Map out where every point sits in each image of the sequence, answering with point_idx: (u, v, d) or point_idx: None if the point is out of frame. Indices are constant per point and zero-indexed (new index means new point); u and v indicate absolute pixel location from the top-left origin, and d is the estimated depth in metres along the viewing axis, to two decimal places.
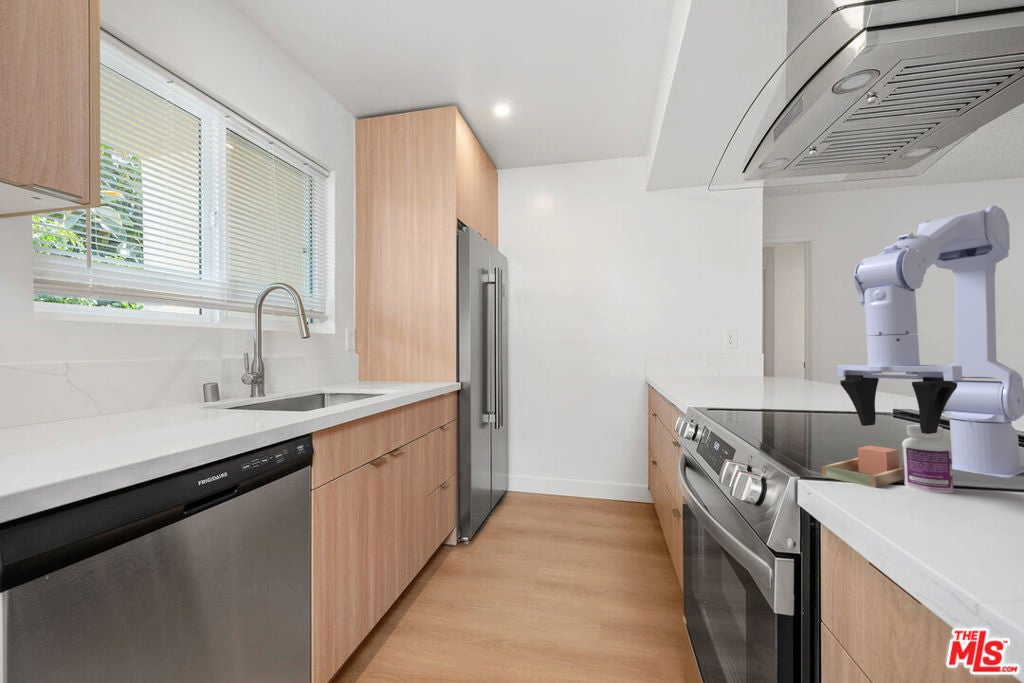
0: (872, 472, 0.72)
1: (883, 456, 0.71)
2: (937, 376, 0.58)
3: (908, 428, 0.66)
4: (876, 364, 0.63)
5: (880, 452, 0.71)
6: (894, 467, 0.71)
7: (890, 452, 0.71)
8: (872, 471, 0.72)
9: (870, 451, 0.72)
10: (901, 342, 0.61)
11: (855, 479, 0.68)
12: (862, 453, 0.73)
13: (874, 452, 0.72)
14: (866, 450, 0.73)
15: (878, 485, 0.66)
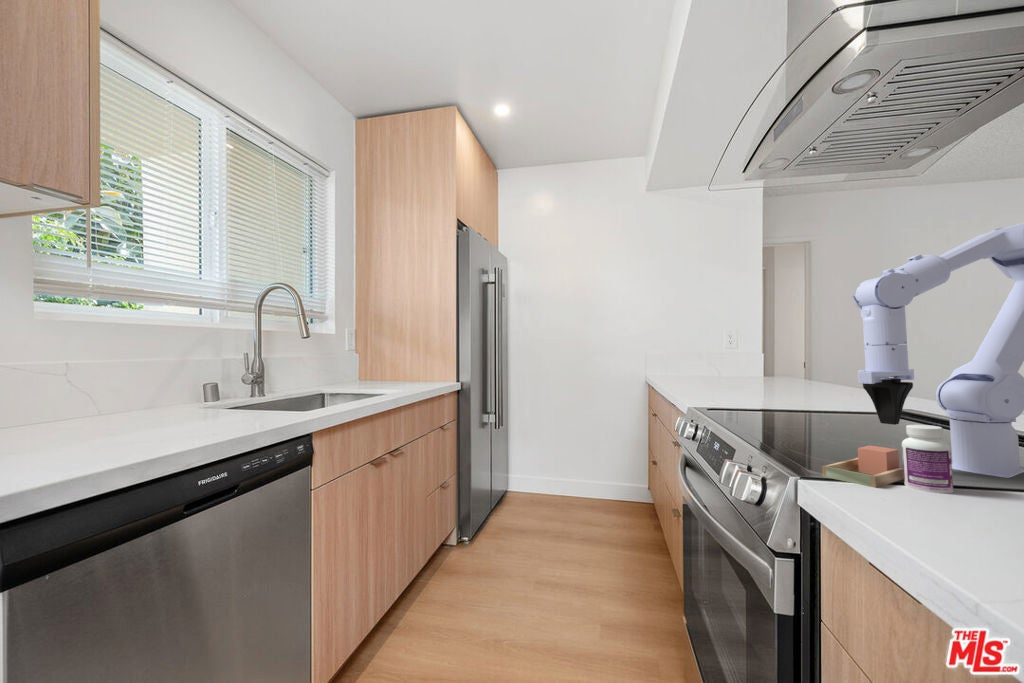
0: (872, 472, 0.72)
1: (883, 456, 0.71)
2: None
3: (908, 428, 0.66)
4: None
5: (880, 452, 0.71)
6: (894, 467, 0.71)
7: (890, 452, 0.71)
8: (872, 471, 0.72)
9: (870, 451, 0.72)
10: (866, 351, 0.76)
11: (855, 479, 0.68)
12: (862, 453, 0.73)
13: (874, 452, 0.72)
14: (866, 450, 0.73)
15: (878, 485, 0.66)
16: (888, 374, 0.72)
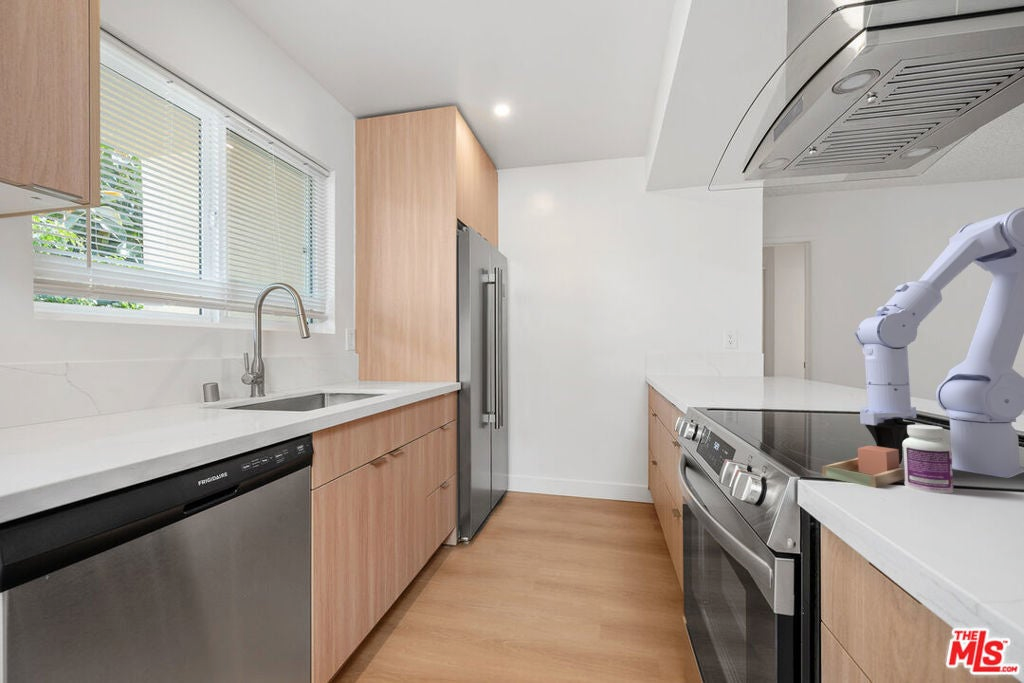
0: (872, 472, 0.72)
1: (883, 456, 0.71)
2: None
3: (908, 428, 0.66)
4: None
5: (880, 452, 0.71)
6: (894, 467, 0.71)
7: (890, 452, 0.71)
8: (872, 471, 0.72)
9: (870, 451, 0.72)
10: (868, 390, 0.76)
11: (855, 479, 0.68)
12: (862, 453, 0.73)
13: (874, 452, 0.72)
14: (866, 450, 0.73)
15: (878, 485, 0.66)
16: (890, 415, 0.72)
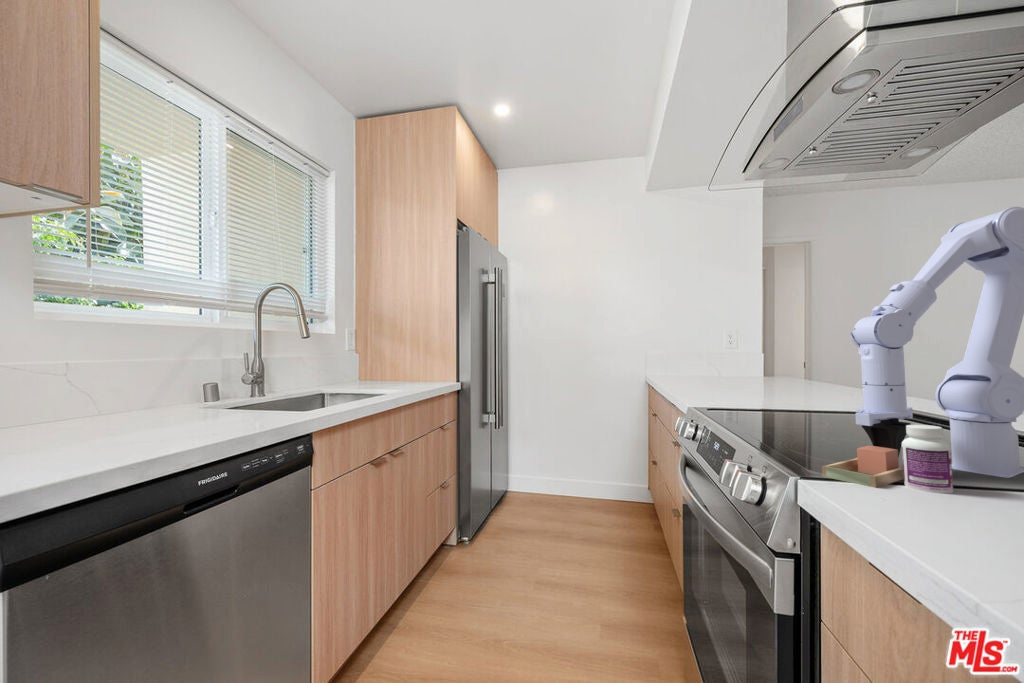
0: (871, 472, 0.72)
1: (882, 456, 0.71)
2: None
3: (907, 428, 0.66)
4: None
5: (879, 452, 0.71)
6: (893, 467, 0.71)
7: (889, 452, 0.71)
8: (871, 471, 0.72)
9: (869, 451, 0.72)
10: (864, 391, 0.75)
11: (855, 479, 0.68)
12: (861, 453, 0.73)
13: (873, 452, 0.72)
14: (865, 450, 0.73)
15: (878, 485, 0.66)
16: (886, 416, 0.71)
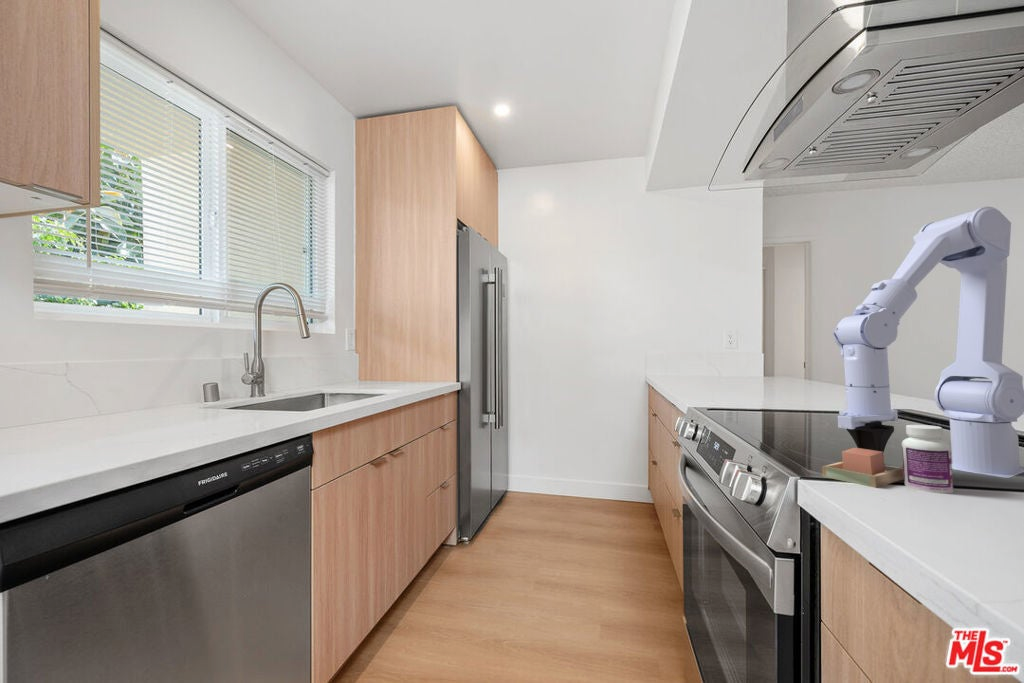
0: None
1: (867, 460, 0.69)
2: None
3: (907, 428, 0.66)
4: None
5: (864, 456, 0.69)
6: (879, 470, 0.69)
7: (874, 455, 0.69)
8: None
9: (854, 455, 0.70)
10: (847, 392, 0.73)
11: (855, 479, 0.68)
12: (846, 457, 0.71)
13: (858, 456, 0.70)
14: (850, 454, 0.71)
15: (878, 485, 0.66)
16: (869, 418, 0.69)
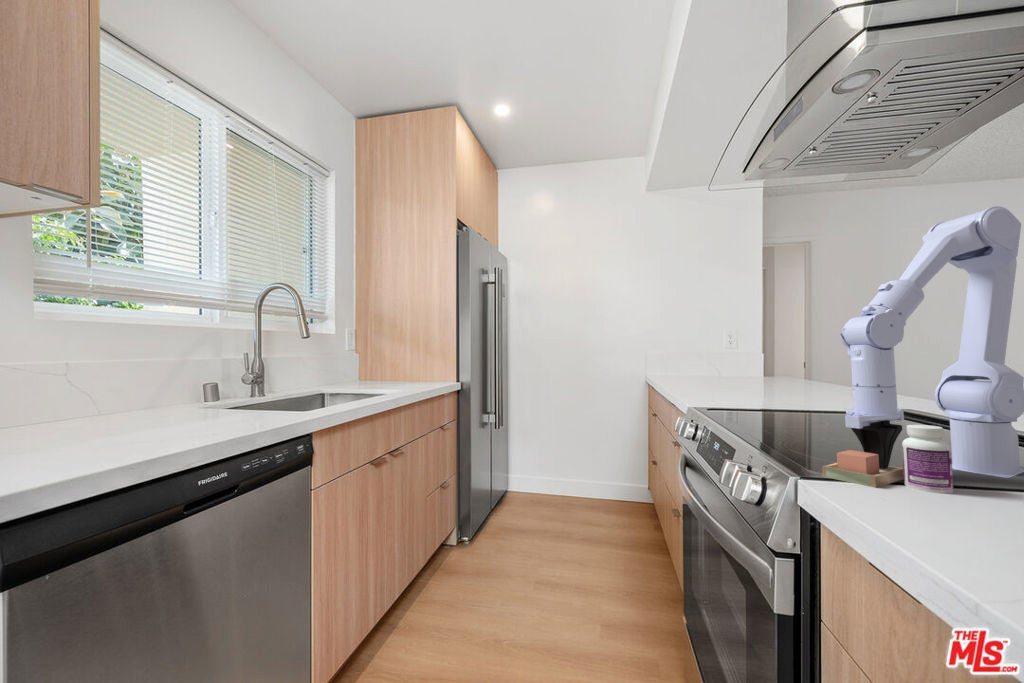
0: None
1: (863, 461, 0.68)
2: None
3: (908, 428, 0.66)
4: None
5: (859, 457, 0.68)
6: (874, 473, 0.68)
7: (870, 457, 0.68)
8: None
9: (849, 456, 0.69)
10: (854, 392, 0.74)
11: (855, 479, 0.68)
12: (841, 458, 0.70)
13: (853, 457, 0.69)
14: (845, 455, 0.70)
15: (878, 485, 0.66)
16: (876, 418, 0.70)
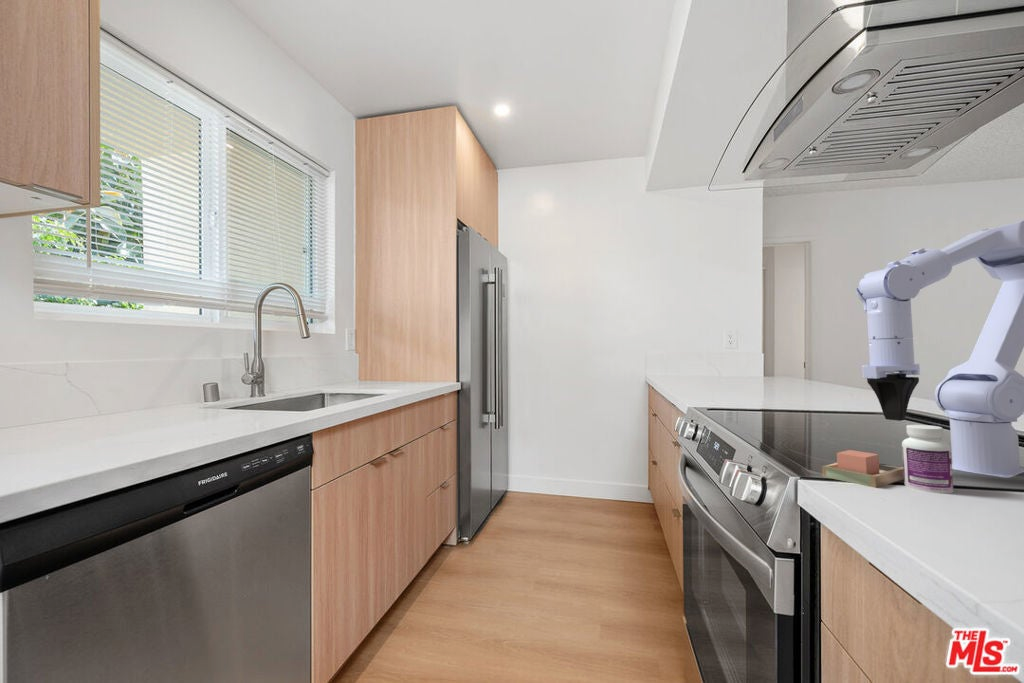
0: None
1: (863, 461, 0.68)
2: None
3: (908, 428, 0.66)
4: None
5: (859, 457, 0.68)
6: (874, 473, 0.68)
7: (870, 457, 0.68)
8: None
9: (849, 456, 0.69)
10: (871, 346, 0.74)
11: (855, 479, 0.68)
12: (841, 458, 0.70)
13: (853, 457, 0.69)
14: (845, 455, 0.70)
15: (878, 485, 0.66)
16: (893, 368, 0.70)
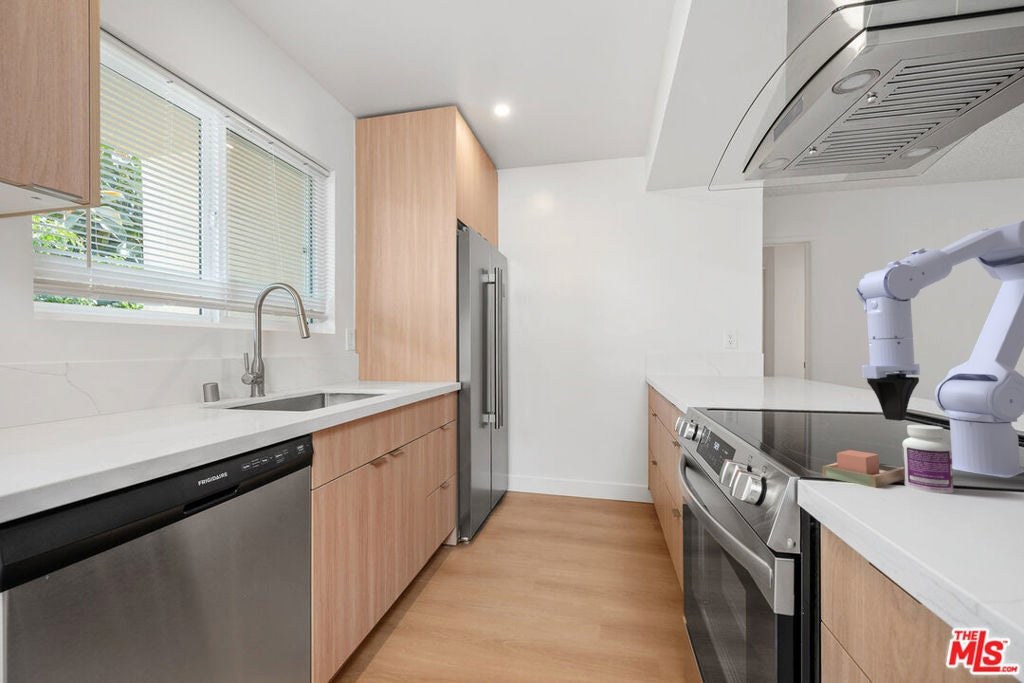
0: None
1: (863, 461, 0.68)
2: None
3: (909, 428, 0.66)
4: None
5: (859, 457, 0.68)
6: (874, 473, 0.68)
7: (870, 457, 0.68)
8: None
9: (849, 456, 0.69)
10: (871, 346, 0.74)
11: (855, 479, 0.68)
12: (841, 458, 0.70)
13: (853, 457, 0.69)
14: (845, 455, 0.70)
15: (878, 485, 0.66)
16: (893, 368, 0.70)
